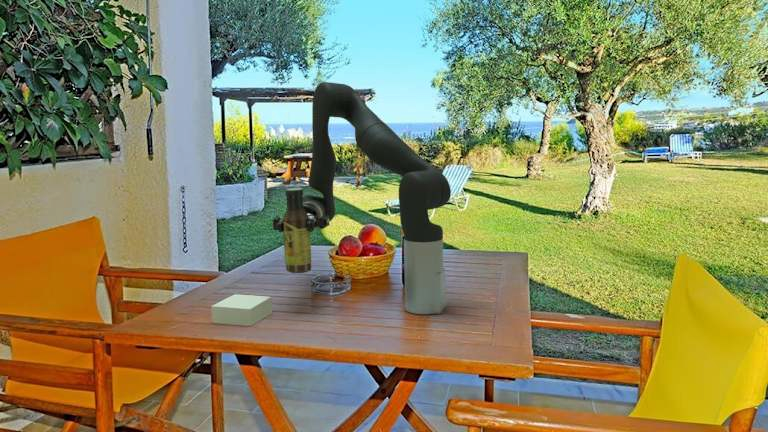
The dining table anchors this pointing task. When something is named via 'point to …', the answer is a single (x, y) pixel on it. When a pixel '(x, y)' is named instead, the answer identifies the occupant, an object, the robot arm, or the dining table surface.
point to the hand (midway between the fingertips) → (294, 227)
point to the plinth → (241, 310)
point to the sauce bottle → (296, 233)
